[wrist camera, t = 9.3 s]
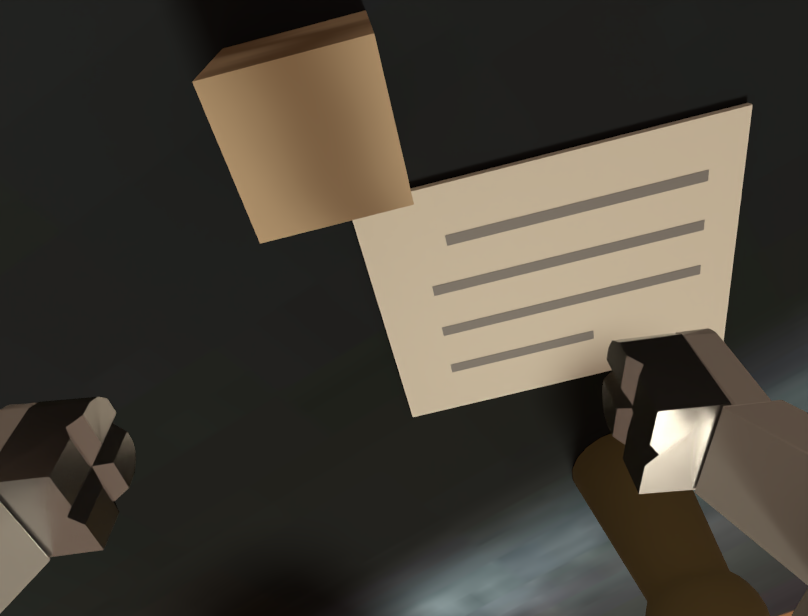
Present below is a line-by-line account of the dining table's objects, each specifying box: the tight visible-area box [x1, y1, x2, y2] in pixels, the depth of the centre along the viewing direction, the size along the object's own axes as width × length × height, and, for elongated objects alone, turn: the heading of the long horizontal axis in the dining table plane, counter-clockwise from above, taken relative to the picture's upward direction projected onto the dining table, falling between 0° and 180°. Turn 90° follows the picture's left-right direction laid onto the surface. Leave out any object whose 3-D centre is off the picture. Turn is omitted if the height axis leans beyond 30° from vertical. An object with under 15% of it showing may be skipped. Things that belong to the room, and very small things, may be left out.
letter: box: [352, 103, 752, 417], centre depth 26 cm, size 16×12×1 cm
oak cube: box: [192, 10, 414, 243], centre depth 19 cm, size 5×5×5 cm
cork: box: [573, 434, 770, 616], centre depth 29 cm, size 6×6×11 cm
